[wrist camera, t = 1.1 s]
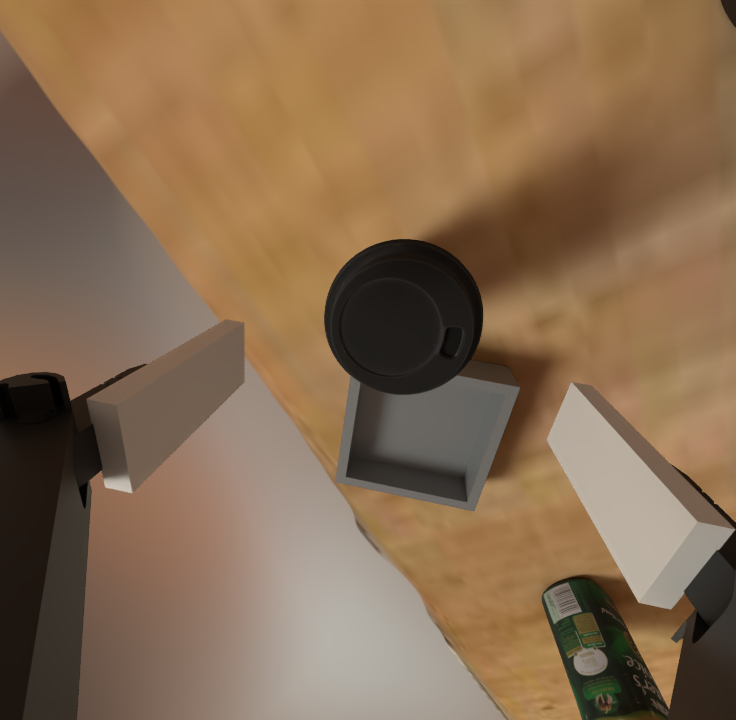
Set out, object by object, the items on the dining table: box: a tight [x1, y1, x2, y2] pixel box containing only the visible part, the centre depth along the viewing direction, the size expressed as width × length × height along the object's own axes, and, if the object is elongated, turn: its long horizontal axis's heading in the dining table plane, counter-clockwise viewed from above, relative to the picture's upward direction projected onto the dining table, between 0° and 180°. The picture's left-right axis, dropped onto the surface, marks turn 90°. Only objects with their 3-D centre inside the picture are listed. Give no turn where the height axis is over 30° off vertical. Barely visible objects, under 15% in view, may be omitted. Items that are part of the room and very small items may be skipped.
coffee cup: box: [324, 239, 483, 395], centre depth 26 cm, size 9×9×15 cm
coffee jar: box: [542, 579, 669, 720], centre depth 38 cm, size 10×8×19 cm
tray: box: [335, 360, 520, 511], centre depth 36 cm, size 15×15×4 cm
